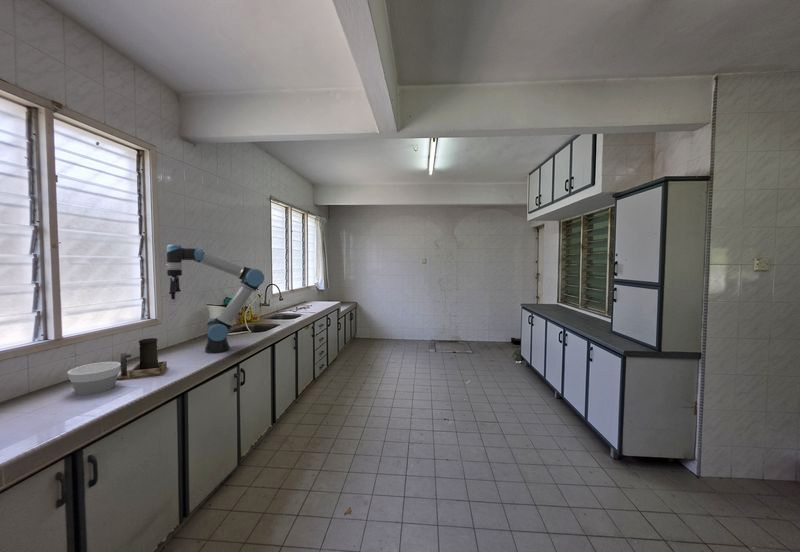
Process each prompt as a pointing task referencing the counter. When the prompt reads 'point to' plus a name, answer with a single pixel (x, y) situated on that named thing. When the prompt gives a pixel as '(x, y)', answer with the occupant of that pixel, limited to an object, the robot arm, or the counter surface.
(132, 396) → the counter surface
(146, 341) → the container
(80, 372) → the bowl
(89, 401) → the counter surface
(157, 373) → the hook shelf
